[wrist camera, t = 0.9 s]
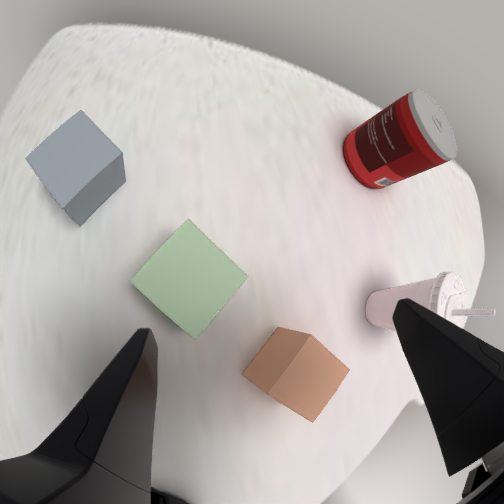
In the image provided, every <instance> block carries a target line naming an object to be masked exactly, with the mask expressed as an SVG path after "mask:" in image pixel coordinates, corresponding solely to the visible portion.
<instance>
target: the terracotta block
mask: <svg viewBox="0 0 504 504" xmlns="http://www.w3.org/2000/svg"><path fill="white" fill-rule="evenodd" d="M349 371H350V369H349V368H348V367H346V366H345V365H344V364H343V363H342V362H341V361H340V360H339V359H338V358H337V357H335V356H334V355H333V354H332V353H331V352H330V351H329V350H328V349H327V348H326V347H324V346H323V345H322V344H321V343H320V342H319V341H318V340H317V339H316V338H315V337H314V336H312V335H311V334H307V333H302V332H298V331H294V330H289V329H285V328H281V327H278V328H277V329H276V331H275V332H274V333H273V335H272V336H271V337H270V339H269V340H268V341H267V342H266V344H265V345H264V346H263V348H262V349H261V350H260V351H259V353H258V354H257V355H256V356H255V358H254V359H253V360H252V361H251V363H250V364H249V365H248V366H247V368H246V369H245V370H244V371H243V373H242V375H243V376H245V377H246V378H247V379H248V380H250V381H251V382H252V383H254V384H255V385H256V386H258V387H259V388H260V389H262V390H263V391H264V392H266V393H267V394H268V395H270V396H271V397H273V398H274V399H276V400H277V401H279V402H280V403H282V404H283V405H285V406H287V407H288V408H290V409H291V410H293V411H294V412H296V413H298V414H299V415H301V416H302V417H304V418H306V419H307V420H309V421H311V422H312V423H313V422H314V421H315V419H316V418H317V417H318V415H319V414H320V413H321V411H322V410H323V409H324V407H325V406H326V404H327V403H328V402H329V400H330V399H331V397H332V396H333V395H334V393H335V392H336V390H337V389H338V387H339V386H340V384H341V383H342V381H343V380H344V378H345V377H346V375H347V374H348V372H349Z"/></svg>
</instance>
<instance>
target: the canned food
mask: <svg viewBox="0 0 504 504" xmlns="http://www.w3.org/2000/svg"><path fill="white" fill-rule="evenodd" d="M456 155H457V144H456V140H455V136H454V133H453V130H452V128H451V125H450V124H449V122H448V120H447V118H446V116H445V114H444V113H443V111H442V110H441V109H440V107H439V106H438V104H437V103H436V102H435V101H434V100H433V99H432V98H431V97H430V96H429V95H428V94H426V93H425V92H423V91H421V90H418V89H417V90H414V91H412V92H410V93H408V94H406V95H405V96H403V97H401V98H400V99H398V100H397V101H395V102H394V103H392V104H391V105H389V106H388V107H386V108H385V109H383V110H382V111H380V112H379V113H377V114H376V115H375V116H373V117H372V118H370V119H369V120H367V121H366V122H364V123H363V124H361V125H360V126H359V127H357V128H356V129H354V130H353V131H352V132H351V133H350V134H349V135H348V136H347V138H346V140H345V142H344V156H345V160H346V163H347V165H348V167H349V169H350V170H351V172H352V174H353V175H354V176H355V177H356V178H357V179H358V180H359V181H360V182H361V183H362V184H364V185H365V186H367V187H370V188H384V187H386V186H389V185H391V184H394V183H396V182H399V181H401V180H404V179H406V178H409V177H411V176H414V175H416V174H418V173H421V172H423V171H426V170H428V169H431V168H433V167H436V166H438V165H441V164H443V163H445V162H448V161H450V160H452V159H453V158H455V157H456Z"/></svg>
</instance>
